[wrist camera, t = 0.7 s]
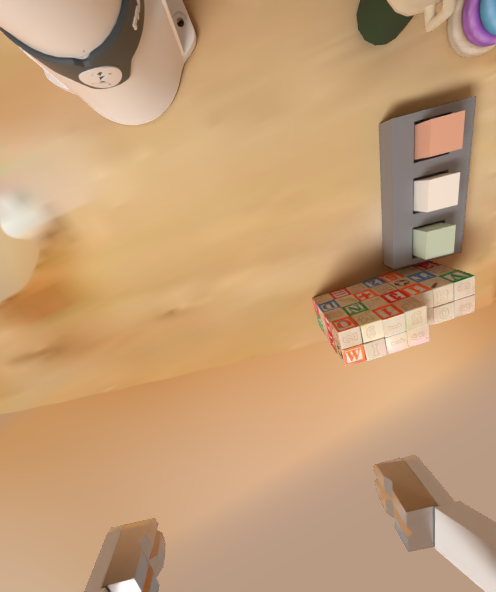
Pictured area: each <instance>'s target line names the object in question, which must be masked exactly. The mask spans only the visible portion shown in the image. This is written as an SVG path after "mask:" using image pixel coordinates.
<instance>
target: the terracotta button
mask: <svg viewBox="0 0 496 592" xmlns="http://www.w3.org/2000/svg"><path fill="white" fill-rule="evenodd" d="M464 121H465V110H464V111H460V112H456V113H452V114H449V115H445V116H441V117H438V118H434V119H430V120H428V121H425V122H422V123H419V124H417V125H415V136H414V160H416V159H421V158H427V157H432V156H436V155H439V154H443V153H447V152H451V151H455V150H458V149H462V145H463V133H464Z"/></svg>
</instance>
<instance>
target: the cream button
mask: <svg viewBox="0 0 496 592" xmlns="http://www.w3.org/2000/svg"><path fill="white" fill-rule="evenodd" d="M459 181H460V172H455V173H443V174H439V175H435V176H431V177H428V178H424V179H420V180H416V181H414V196H413V211H420V212H431V211H435V210H439V209H442V208H446V207H450V206H454V205H458V193H459Z"/></svg>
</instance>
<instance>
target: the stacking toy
mask: <svg viewBox="0 0 496 592" xmlns="http://www.w3.org/2000/svg"><path fill="white" fill-rule="evenodd" d="M447 35H448V40H449V43H450V45H451V47H452V49H453V50H454V52H455V53H456V54H458V55H460V56H462V57H466V58H473V57H478V56H480V55H483V54H485V53H486V52H488V51H489V50H491V49H492V48H493V47H494V46H495V45H496V0H456V7H455V11H454V12H453V14H452V15H451V16H450V17H449V18H448V24H447Z"/></svg>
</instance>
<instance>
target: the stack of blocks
mask: <svg viewBox="0 0 496 592" xmlns="http://www.w3.org/2000/svg"><path fill="white" fill-rule="evenodd" d="M474 293H475V276H474V275H472V274H469V273H466V272H463V271H460V270H455V269H452V268H449V267H446V266H444V265H440V264H437V263H434V262H431V261H426V262H423V263H421V264H418V265H415V266H410V267H407V268H404V269H401V270H398V271H395V272H391V273H388V274H385V275H382V276H379V277H377V278H374V279H371V280H368V281H365V282H362V283H359V284H356V285H353V286H350V287H347V288H342V289H339V290H336V291H333V292H330V293H326V294H323V295H320V296H317V297H314V298H312V299H313V303H314V307H315V311H316V313H317V317H318V321H319V325H320V327H321V329H322V330H323V332H324V333H325V335H326V336H327V338H328V340H329V341H330V343H331V345H332V346H333V348H334V349H335V351H336V352H337V354H338V355H339V356H340V358H341V360H342V361H343V363H344V365H345V366H350V365H352V364H356V363H359V362H363V361H365V360H368V361H369V360H372V359H375V358H378V357H381V356H384V355H387V354H390V353H394V352H397V351H400V350H403V349H406V348H408V347H412V346H415V345H418V344H421V343H424V342H427V341H429V329H428V326H429V325H433V324H437V323H440V322H444V321H447V320H450V319H453V318H455V317H458V316H462V315H465V314H468V313H471V312H474V310H475V294H474Z"/></svg>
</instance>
